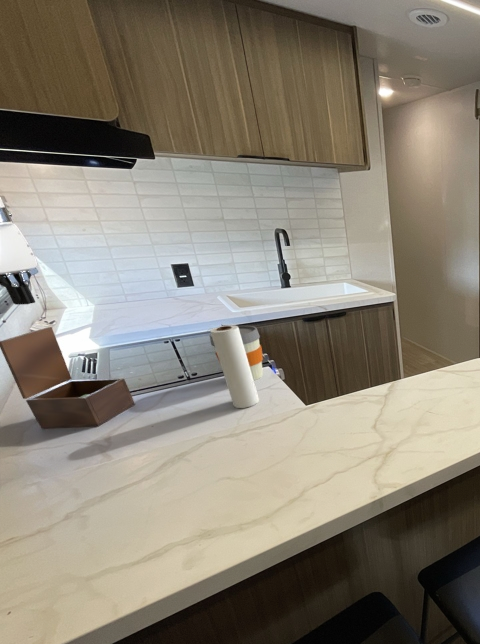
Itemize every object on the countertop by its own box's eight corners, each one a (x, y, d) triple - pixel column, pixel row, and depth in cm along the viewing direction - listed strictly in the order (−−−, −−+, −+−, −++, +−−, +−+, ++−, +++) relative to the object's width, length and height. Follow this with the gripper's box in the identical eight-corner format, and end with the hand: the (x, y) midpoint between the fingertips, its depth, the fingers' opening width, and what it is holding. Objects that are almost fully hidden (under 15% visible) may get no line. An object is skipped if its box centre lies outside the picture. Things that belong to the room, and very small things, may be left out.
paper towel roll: (252, 408, 106) (229, 331, 98) (229, 409, 106) (204, 331, 97) (265, 396, 113) (245, 322, 104) (243, 397, 112) (221, 323, 104)
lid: (51, 326, 100) (48, 326, 100) (0, 342, 89) (-3, 341, 89) (71, 378, 105) (68, 378, 105) (26, 398, 95) (22, 398, 95)
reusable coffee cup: (272, 379, 124) (260, 332, 118) (224, 389, 117) (208, 340, 111) (266, 366, 133) (255, 322, 127) (222, 375, 126) (207, 330, 120)
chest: (135, 404, 109) (124, 378, 106) (98, 426, 99) (84, 398, 96) (83, 406, 109) (71, 380, 106) (41, 428, 98) (25, 400, 95)
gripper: (3, 216, 91) (40, 296, 98) (-82, 219, 77) (-31, 312, 85) (37, 216, 91) (72, 296, 99) (-41, 219, 78) (7, 311, 85)
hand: (25, 303), depth 92 cm, fingers closed
